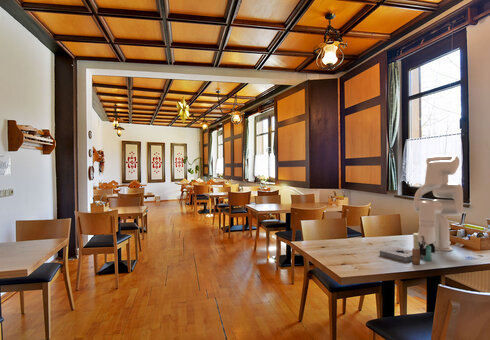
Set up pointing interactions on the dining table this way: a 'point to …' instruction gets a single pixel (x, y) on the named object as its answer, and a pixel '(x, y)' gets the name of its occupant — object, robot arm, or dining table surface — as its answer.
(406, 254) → the socket plate
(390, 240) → the dining table surface
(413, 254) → the walnut peg
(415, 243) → the can
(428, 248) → the teal peg
